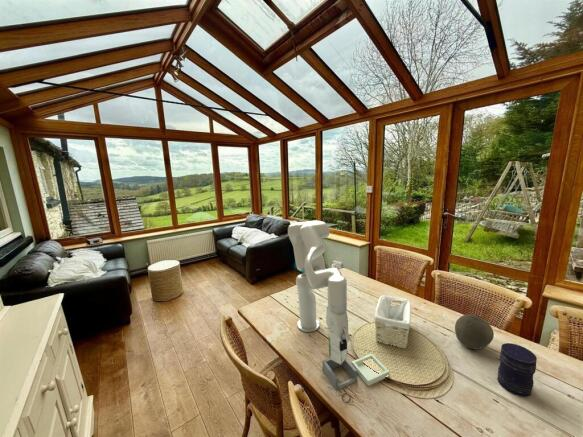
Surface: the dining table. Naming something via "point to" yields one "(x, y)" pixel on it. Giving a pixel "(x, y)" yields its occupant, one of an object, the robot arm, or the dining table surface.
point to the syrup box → (336, 348)
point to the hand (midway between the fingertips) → (337, 342)
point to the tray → (370, 370)
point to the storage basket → (393, 321)
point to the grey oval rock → (473, 331)
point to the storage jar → (516, 369)
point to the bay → (327, 369)
